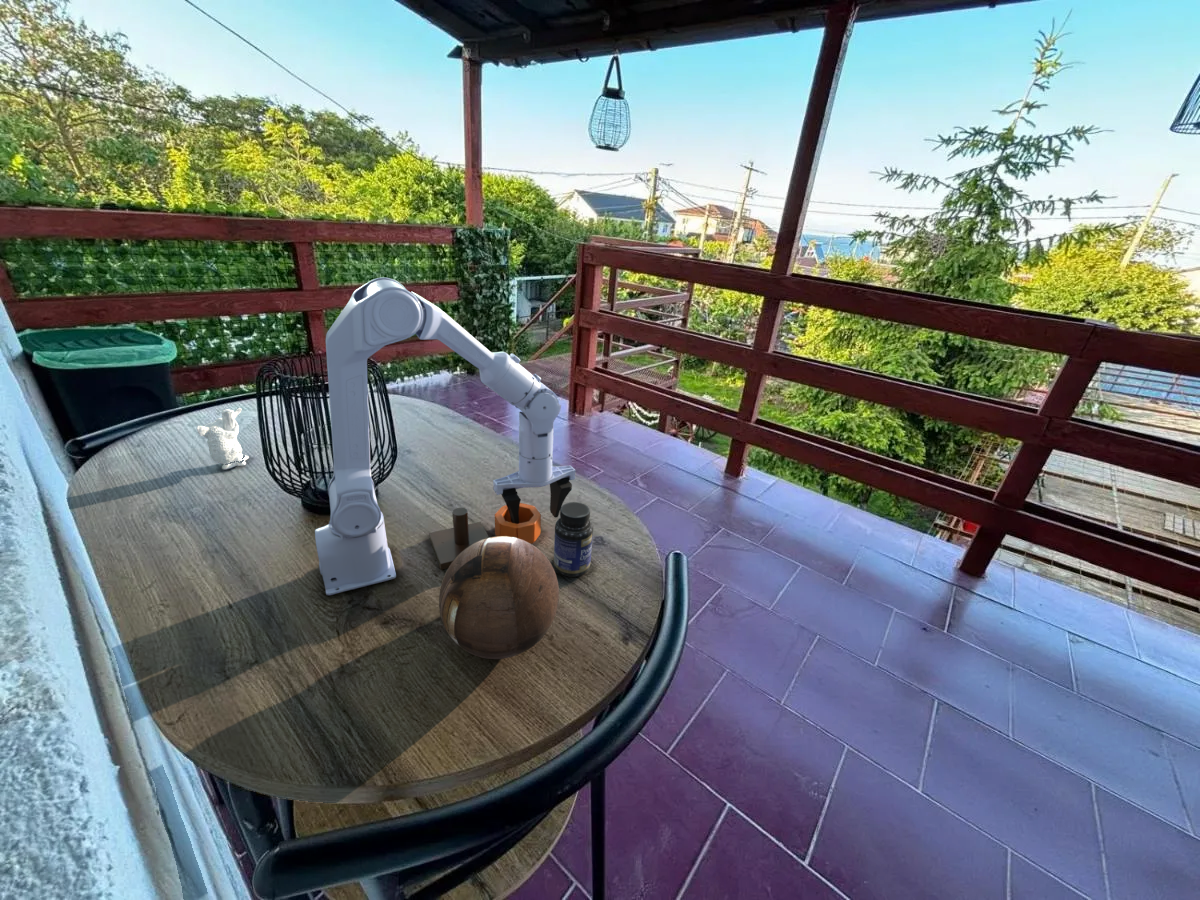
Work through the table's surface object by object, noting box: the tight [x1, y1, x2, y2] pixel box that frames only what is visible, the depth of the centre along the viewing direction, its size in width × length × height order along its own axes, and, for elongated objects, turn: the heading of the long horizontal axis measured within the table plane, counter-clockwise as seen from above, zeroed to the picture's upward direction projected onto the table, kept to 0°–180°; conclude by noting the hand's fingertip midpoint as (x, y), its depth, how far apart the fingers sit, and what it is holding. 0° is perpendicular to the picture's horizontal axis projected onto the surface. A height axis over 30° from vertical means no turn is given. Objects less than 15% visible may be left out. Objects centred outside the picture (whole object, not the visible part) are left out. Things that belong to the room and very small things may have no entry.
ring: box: [494, 502, 542, 545], centre depth 85 cm, size 8×8×4 cm
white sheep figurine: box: [196, 407, 250, 470], centre depth 98 cm, size 8×7×12 cm
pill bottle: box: [553, 501, 594, 578], centre depth 77 cm, size 6×6×11 cm
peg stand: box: [428, 507, 490, 571], centre depth 80 cm, size 9×9×7 cm
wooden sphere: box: [438, 536, 560, 660], centre depth 62 cm, size 15×15×15 cm
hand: (534, 519), depth 87 cm, fingers open, 7 cm apart
